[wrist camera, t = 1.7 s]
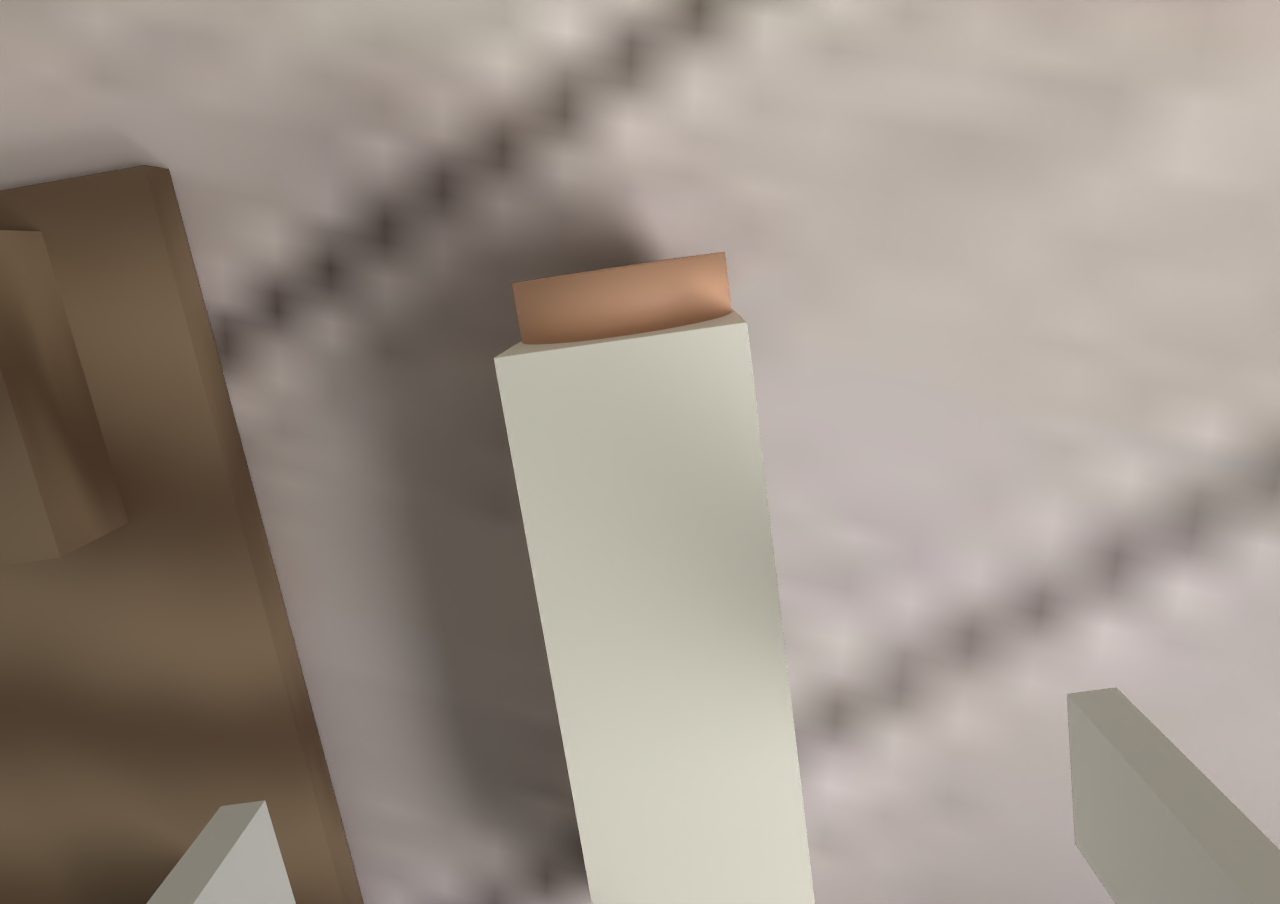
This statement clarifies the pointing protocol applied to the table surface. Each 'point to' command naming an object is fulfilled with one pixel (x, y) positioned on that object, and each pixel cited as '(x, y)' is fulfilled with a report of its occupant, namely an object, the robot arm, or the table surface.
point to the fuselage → (657, 582)
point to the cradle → (134, 569)
